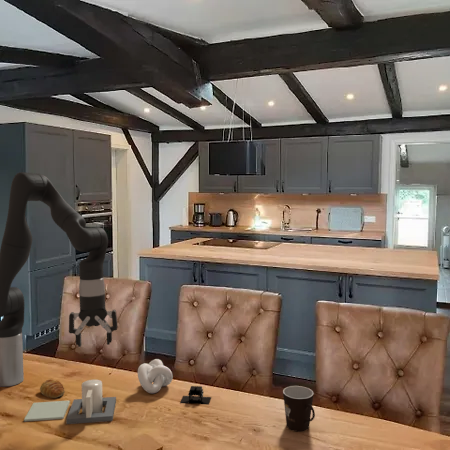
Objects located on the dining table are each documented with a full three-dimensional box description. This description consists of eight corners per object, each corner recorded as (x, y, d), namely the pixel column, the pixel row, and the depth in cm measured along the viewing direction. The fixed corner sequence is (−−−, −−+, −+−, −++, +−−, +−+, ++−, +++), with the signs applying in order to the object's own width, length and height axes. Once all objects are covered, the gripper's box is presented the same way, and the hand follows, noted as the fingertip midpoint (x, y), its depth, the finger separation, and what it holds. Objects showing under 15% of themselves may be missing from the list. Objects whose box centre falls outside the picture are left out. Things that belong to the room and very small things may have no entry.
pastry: (70, 395, 155) (69, 383, 155) (50, 401, 150) (50, 390, 150) (56, 387, 162) (56, 376, 161) (37, 393, 157) (37, 382, 156)
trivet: (24, 421, 137) (24, 419, 137) (33, 404, 148) (33, 402, 148) (63, 418, 138) (63, 416, 138) (69, 402, 149) (69, 400, 149)
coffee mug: (281, 418, 139) (281, 385, 138) (310, 419, 138) (311, 386, 138) (285, 439, 127) (285, 403, 126) (317, 439, 127) (317, 404, 126)
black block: (174, 405, 148) (174, 391, 148) (179, 395, 155) (179, 382, 155) (213, 407, 147) (213, 393, 146) (216, 397, 154) (216, 384, 154)
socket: (66, 424, 135) (66, 419, 135) (74, 404, 148) (73, 399, 148) (112, 420, 137) (112, 415, 137) (116, 401, 150) (115, 396, 150)
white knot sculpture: (155, 399, 151) (154, 372, 151) (127, 391, 157) (127, 365, 157) (176, 387, 161) (176, 361, 160) (149, 380, 167) (149, 355, 166)
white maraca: (83, 408, 145) (83, 380, 145) (103, 407, 146) (103, 379, 145) (77, 426, 134) (77, 396, 133) (99, 425, 135) (98, 394, 134)
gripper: (116, 289, 148) (118, 339, 149) (69, 291, 146) (72, 342, 147) (115, 294, 140) (117, 347, 142) (65, 296, 138) (68, 350, 139)
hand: (94, 345), depth 144 cm, fingers open, 8 cm apart
